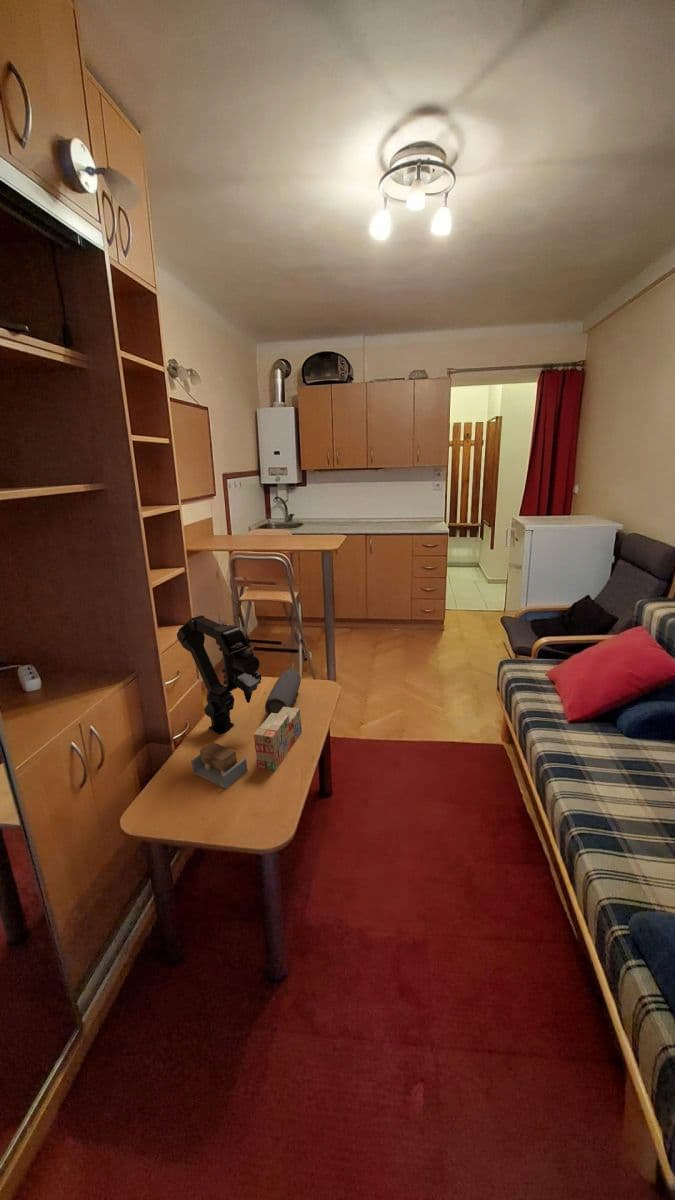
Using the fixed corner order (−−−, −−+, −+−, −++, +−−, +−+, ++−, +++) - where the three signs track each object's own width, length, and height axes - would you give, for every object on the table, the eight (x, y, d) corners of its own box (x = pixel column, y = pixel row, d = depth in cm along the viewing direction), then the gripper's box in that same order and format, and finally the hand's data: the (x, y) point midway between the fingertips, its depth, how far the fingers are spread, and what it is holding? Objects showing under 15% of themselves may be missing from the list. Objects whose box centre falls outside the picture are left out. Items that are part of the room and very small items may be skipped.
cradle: (193, 772, 141) (191, 760, 140) (215, 756, 148) (213, 745, 147) (225, 788, 134) (224, 776, 132) (247, 771, 141) (246, 758, 139)
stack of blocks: (285, 729, 161) (282, 698, 158) (302, 732, 160) (299, 700, 156) (257, 768, 142) (253, 733, 138) (275, 771, 140) (272, 736, 137)
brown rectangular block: (201, 761, 140) (199, 749, 139) (213, 752, 144) (212, 741, 143) (224, 772, 135) (223, 760, 134) (237, 762, 139) (235, 751, 138)
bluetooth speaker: (280, 690, 189) (278, 668, 186) (302, 691, 187) (301, 668, 184) (264, 721, 167) (262, 696, 164) (289, 722, 166) (287, 697, 163)
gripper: (230, 683, 136) (235, 729, 141) (271, 659, 151) (275, 702, 156) (204, 675, 142) (210, 719, 147) (246, 653, 157) (251, 694, 162)
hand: (238, 708), depth 153 cm, fingers open, 9 cm apart
